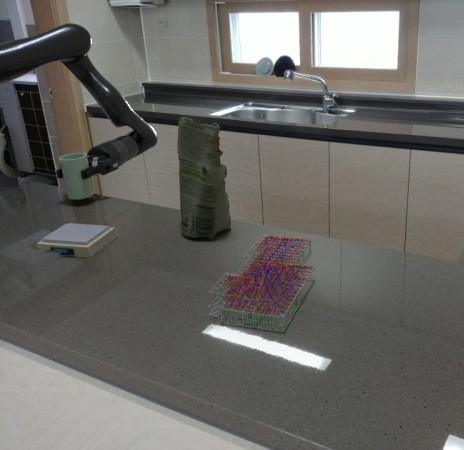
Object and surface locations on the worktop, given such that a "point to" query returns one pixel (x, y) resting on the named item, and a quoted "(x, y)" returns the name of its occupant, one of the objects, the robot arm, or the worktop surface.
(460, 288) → the worktop surface
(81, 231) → the scale
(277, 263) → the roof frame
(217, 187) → the pouch
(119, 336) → the worktop surface
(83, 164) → the cup
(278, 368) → the worktop surface
